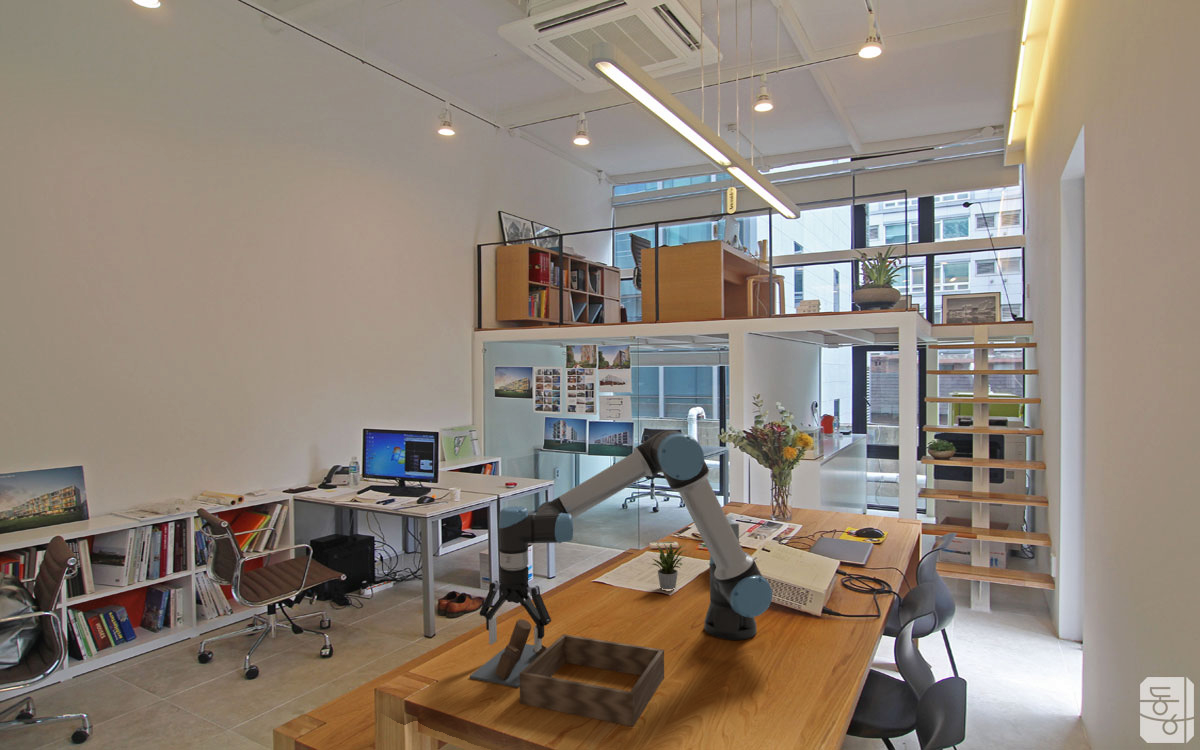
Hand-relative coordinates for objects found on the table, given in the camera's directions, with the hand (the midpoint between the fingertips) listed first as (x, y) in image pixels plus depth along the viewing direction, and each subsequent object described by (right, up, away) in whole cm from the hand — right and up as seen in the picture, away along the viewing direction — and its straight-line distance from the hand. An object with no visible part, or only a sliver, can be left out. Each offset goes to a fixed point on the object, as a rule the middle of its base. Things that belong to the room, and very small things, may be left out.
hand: (515, 646), depth 173 cm
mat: (0, -5, 0) cm, 5 cm away
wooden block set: (+1, -4, -2) cm, 5 cm away
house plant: (+48, -4, +57) cm, 75 cm away
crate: (+21, -5, -14) cm, 26 cm away
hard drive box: (+70, -3, +76) cm, 104 cm away
